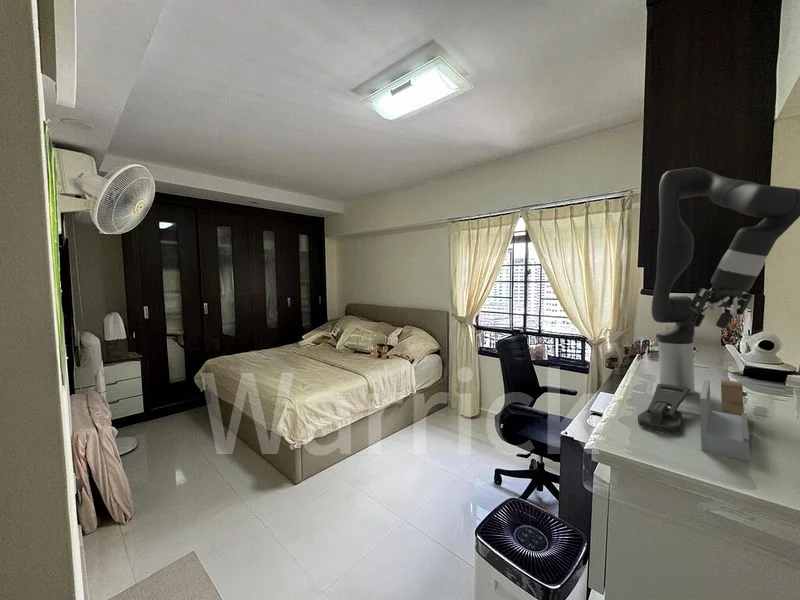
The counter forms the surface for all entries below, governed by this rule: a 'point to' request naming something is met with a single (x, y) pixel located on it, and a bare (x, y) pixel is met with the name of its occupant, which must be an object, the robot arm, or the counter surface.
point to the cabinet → (732, 397)
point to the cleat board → (722, 430)
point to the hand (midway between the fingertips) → (707, 326)
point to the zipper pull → (664, 409)
